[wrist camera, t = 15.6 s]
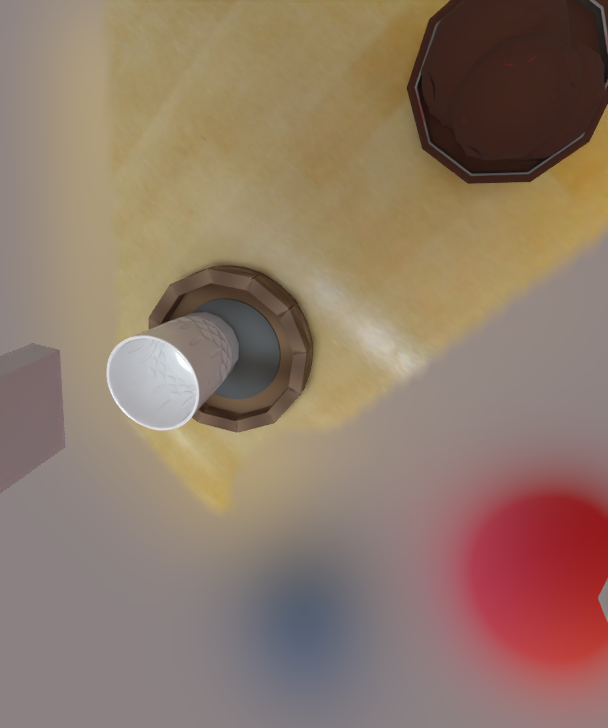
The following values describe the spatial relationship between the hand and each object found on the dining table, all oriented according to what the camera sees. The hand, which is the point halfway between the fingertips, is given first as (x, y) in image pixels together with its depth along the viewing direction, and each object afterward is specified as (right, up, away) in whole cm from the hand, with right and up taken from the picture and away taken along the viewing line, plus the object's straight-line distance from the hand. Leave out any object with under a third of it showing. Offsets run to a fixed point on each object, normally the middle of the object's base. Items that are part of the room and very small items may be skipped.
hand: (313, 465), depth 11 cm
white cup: (-9, +4, +36) cm, 37 cm away
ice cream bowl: (+13, +21, +25) cm, 35 cm away
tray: (-7, +4, +36) cm, 37 cm away
